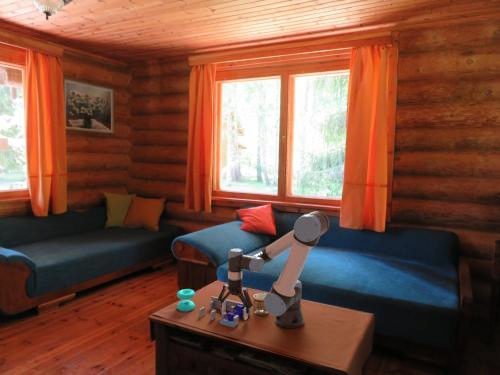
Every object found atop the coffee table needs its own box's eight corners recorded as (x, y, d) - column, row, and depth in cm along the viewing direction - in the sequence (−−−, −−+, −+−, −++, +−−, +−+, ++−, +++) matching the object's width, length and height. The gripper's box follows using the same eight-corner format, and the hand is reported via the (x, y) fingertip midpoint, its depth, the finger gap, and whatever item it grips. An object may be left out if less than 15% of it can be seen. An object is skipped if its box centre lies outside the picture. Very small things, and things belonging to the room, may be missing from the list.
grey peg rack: (250, 315, 202) (250, 304, 201) (236, 328, 187) (236, 316, 186) (212, 306, 213) (212, 296, 212) (196, 317, 198) (196, 306, 197)
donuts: (185, 296, 201) (173, 292, 207) (185, 314, 202) (173, 309, 208) (198, 291, 209) (186, 286, 215) (198, 307, 210) (186, 303, 216)
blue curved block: (236, 314, 203) (236, 304, 202) (243, 316, 201) (243, 305, 200) (224, 323, 192) (224, 312, 191) (232, 325, 190) (232, 314, 189)
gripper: (259, 279, 192) (258, 318, 194) (218, 272, 203) (218, 308, 205) (253, 284, 185) (252, 324, 187) (211, 276, 196) (211, 313, 199)
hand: (234, 316), depth 196 cm, fingers open, 13 cm apart
